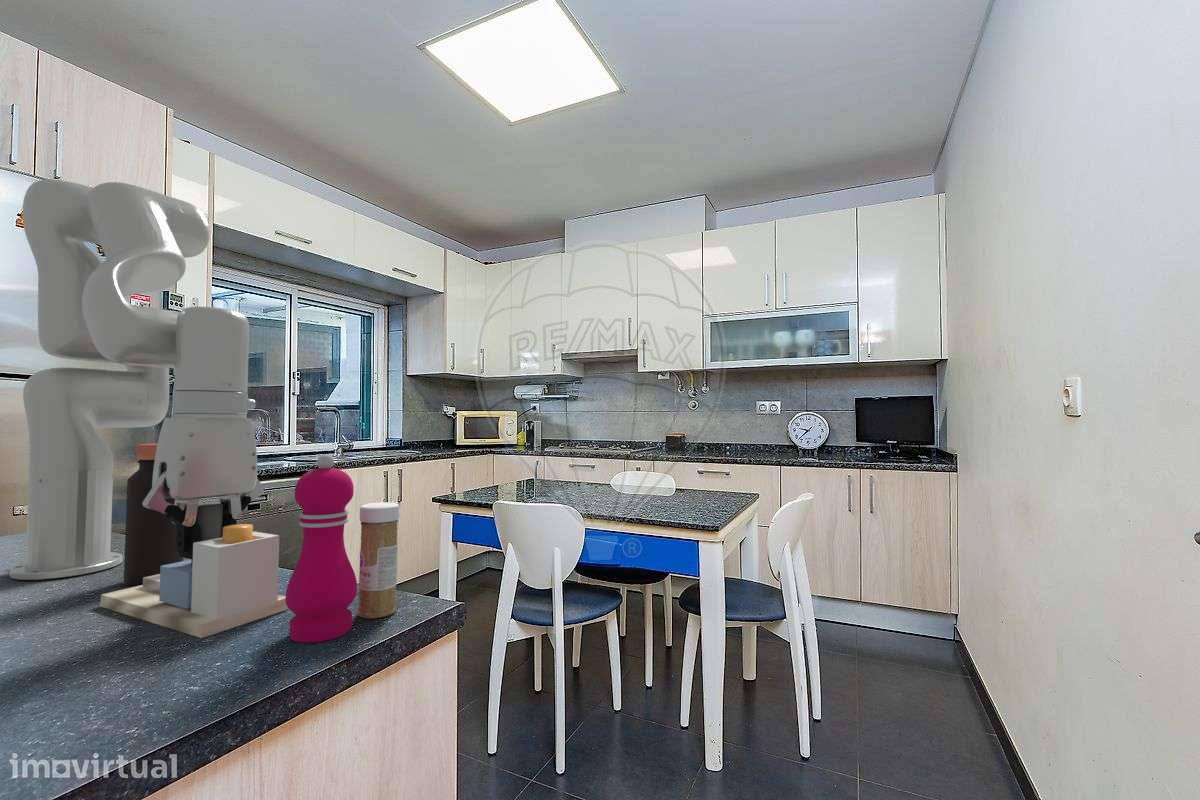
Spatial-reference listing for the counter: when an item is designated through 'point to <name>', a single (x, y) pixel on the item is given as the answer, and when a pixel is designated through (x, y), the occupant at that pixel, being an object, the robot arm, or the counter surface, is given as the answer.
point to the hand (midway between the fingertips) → (206, 552)
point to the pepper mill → (322, 557)
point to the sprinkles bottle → (378, 559)
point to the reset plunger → (237, 533)
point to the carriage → (180, 574)
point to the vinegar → (146, 525)
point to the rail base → (179, 610)
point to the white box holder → (234, 575)
